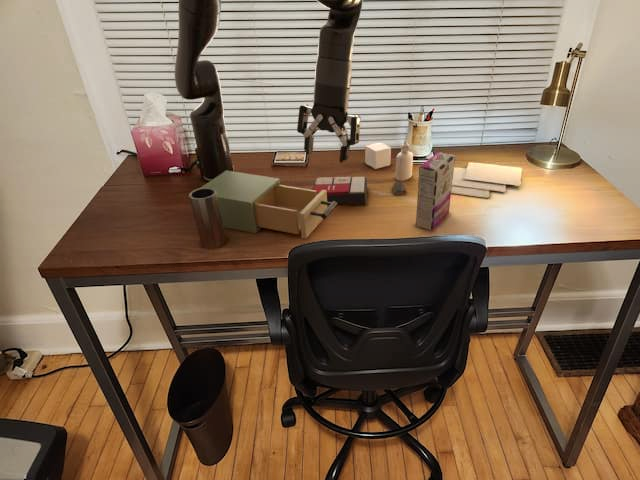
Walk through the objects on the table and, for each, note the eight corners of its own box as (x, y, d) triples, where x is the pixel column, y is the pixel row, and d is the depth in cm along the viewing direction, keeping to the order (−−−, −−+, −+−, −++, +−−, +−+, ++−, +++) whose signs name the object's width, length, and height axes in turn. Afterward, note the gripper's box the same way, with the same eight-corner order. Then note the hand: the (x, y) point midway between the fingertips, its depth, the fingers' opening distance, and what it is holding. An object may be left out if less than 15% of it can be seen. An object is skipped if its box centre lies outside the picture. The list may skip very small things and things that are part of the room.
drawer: (342, 216, 115) (341, 192, 111) (322, 241, 105) (320, 216, 101) (276, 204, 120) (273, 181, 116) (250, 228, 110) (246, 203, 106)
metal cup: (196, 245, 105) (183, 196, 97) (211, 234, 109) (199, 186, 102) (217, 250, 103) (205, 200, 96) (230, 238, 108) (220, 189, 100)
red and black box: (315, 176, 128) (366, 174, 127) (317, 189, 131) (367, 187, 130) (310, 192, 120) (365, 191, 119) (312, 206, 122) (365, 205, 121)
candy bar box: (432, 208, 119) (438, 150, 110) (449, 213, 117) (456, 154, 108) (413, 226, 112) (418, 165, 102) (431, 231, 110) (438, 170, 100)
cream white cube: (390, 165, 144) (391, 147, 141) (375, 169, 142) (375, 151, 138) (379, 159, 148) (380, 141, 145) (365, 163, 146) (365, 145, 142)
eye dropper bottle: (392, 176, 137) (394, 138, 130) (410, 174, 138) (412, 137, 131) (396, 181, 134) (398, 143, 127) (414, 180, 135) (417, 141, 128)
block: (404, 186, 131) (404, 180, 130) (405, 195, 126) (406, 189, 125) (392, 186, 131) (392, 180, 130) (393, 195, 126) (393, 189, 125)
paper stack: (518, 202, 122) (519, 199, 122) (430, 190, 129) (430, 188, 128) (521, 170, 140) (521, 168, 140) (443, 160, 146) (443, 159, 146)
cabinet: (283, 207, 121) (279, 178, 116) (256, 233, 110) (250, 202, 104) (231, 198, 125) (226, 170, 120) (200, 222, 114) (192, 192, 109)
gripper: (294, 77, 91) (290, 154, 99) (356, 88, 87) (347, 168, 95) (310, 75, 97) (306, 148, 105) (370, 86, 93) (360, 161, 101)
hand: (325, 157), depth 100 cm, fingers open, 8 cm apart
